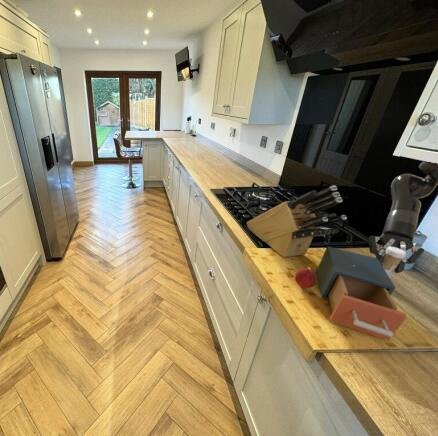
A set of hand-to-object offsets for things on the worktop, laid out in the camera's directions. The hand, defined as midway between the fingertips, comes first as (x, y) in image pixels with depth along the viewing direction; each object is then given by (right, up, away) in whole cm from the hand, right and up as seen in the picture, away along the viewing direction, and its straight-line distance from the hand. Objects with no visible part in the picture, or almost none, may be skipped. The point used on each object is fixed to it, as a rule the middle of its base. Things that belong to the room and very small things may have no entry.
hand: (387, 269), depth 79 cm
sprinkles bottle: (+1, -5, +4) cm, 7 cm away
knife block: (-23, +5, +23) cm, 33 cm away
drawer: (-22, -11, -12) cm, 27 cm away
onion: (-29, -6, 0) cm, 29 cm away
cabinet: (-15, -7, -1) cm, 17 cm away
